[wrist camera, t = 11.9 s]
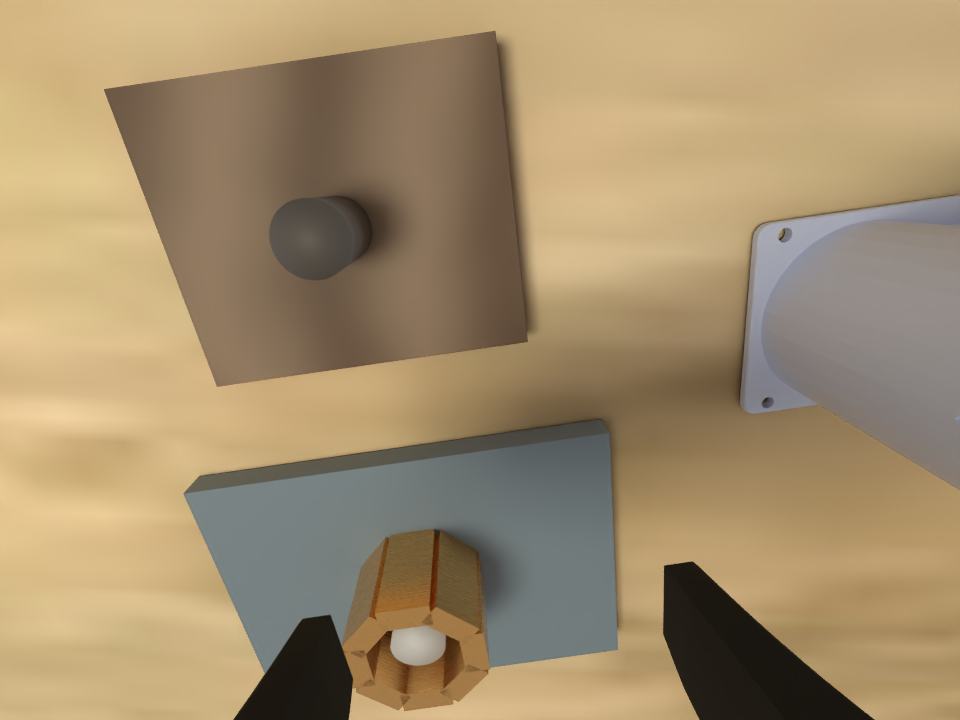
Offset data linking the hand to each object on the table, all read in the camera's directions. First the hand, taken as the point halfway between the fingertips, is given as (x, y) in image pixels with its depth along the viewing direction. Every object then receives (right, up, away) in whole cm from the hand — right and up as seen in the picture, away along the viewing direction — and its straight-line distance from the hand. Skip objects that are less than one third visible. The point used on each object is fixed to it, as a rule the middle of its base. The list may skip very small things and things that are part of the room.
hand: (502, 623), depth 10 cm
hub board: (-3, -4, +13) cm, 14 cm away
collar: (-3, -4, +11) cm, 13 cm away
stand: (-5, +11, +7) cm, 14 cm away
